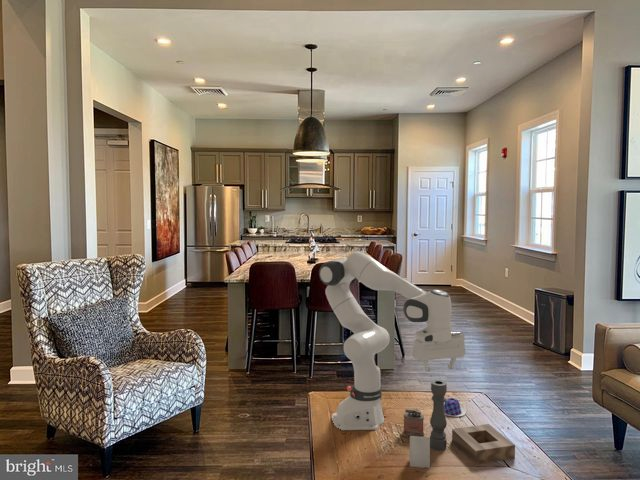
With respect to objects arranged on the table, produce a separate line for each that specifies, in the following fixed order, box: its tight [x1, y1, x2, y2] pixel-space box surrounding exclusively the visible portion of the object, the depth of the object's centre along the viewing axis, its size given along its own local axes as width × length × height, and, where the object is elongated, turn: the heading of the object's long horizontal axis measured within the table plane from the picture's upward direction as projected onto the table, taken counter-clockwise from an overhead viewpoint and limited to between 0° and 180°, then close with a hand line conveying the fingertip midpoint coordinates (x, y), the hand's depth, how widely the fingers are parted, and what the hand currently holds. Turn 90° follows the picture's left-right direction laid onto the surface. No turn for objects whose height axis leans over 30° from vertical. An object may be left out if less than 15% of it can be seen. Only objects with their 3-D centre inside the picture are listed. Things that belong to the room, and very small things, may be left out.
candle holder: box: [429, 379, 448, 452], centre depth 168 cm, size 6×6×25 cm
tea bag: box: [409, 435, 431, 469], centre depth 157 cm, size 4×7×10 cm, turn 81°
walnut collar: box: [451, 423, 516, 465], centre depth 166 cm, size 16×16×5 cm
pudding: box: [444, 397, 467, 417], centre depth 197 cm, size 12×12×5 cm
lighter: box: [402, 408, 425, 437], centre depth 178 cm, size 8×3×10 cm, turn 71°
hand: (439, 369), depth 166 cm, fingers open, 8 cm apart
